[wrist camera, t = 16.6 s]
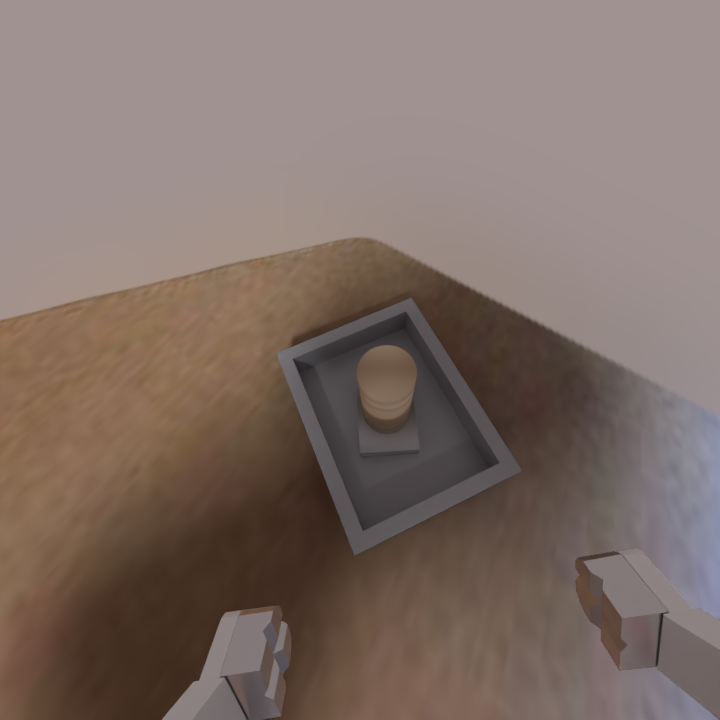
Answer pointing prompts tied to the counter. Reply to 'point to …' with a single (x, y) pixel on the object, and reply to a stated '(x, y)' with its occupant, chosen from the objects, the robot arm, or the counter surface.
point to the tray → (433, 417)
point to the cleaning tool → (386, 402)
